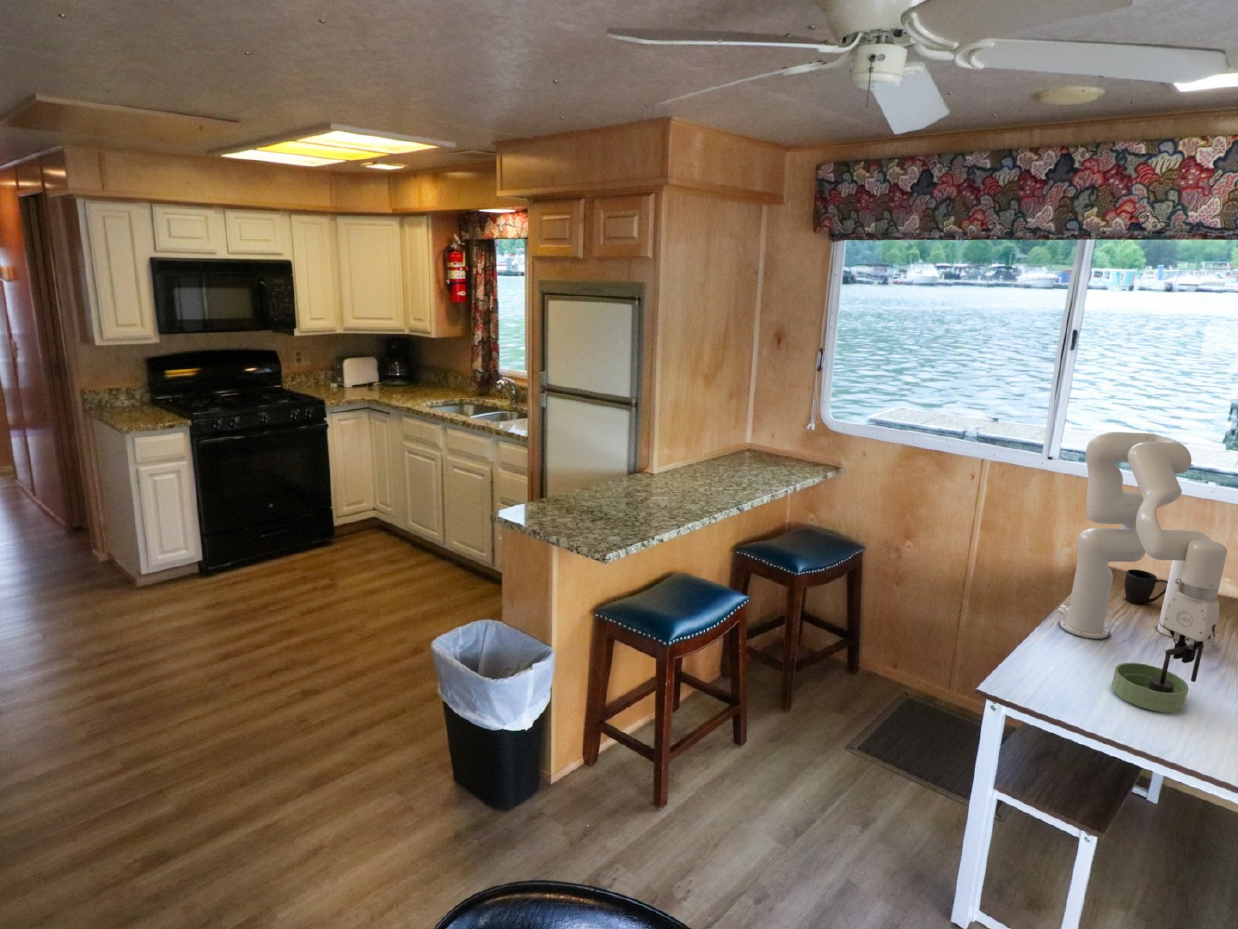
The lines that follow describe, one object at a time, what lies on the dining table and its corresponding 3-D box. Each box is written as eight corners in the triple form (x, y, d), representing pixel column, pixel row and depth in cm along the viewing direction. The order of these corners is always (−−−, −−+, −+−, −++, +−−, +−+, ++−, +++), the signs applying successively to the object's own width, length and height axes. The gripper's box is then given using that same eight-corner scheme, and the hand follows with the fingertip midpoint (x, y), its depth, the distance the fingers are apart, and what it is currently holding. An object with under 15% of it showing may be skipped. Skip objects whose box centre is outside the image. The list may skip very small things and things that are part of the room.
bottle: (1160, 623, 238) (1180, 537, 231) (1192, 633, 233) (1213, 544, 226) (1154, 631, 233) (1174, 543, 226) (1186, 641, 227) (1208, 551, 220)
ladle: (1184, 676, 199) (1193, 638, 197) (1205, 686, 195) (1214, 647, 192) (1143, 686, 194) (1152, 646, 191) (1163, 696, 189) (1172, 656, 187)
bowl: (1097, 687, 200) (1101, 668, 199) (1138, 677, 206) (1142, 659, 204) (1156, 719, 186) (1160, 698, 185) (1198, 708, 192) (1202, 688, 191)
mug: (1164, 612, 247) (1170, 584, 244) (1119, 601, 254) (1125, 574, 251) (1165, 603, 253) (1171, 576, 251) (1122, 593, 260) (1127, 567, 258)
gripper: (1155, 580, 194) (1141, 648, 199) (1222, 605, 180) (1205, 677, 185) (1176, 577, 197) (1161, 644, 201) (1243, 601, 183) (1226, 672, 187)
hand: (1182, 659), depth 193 cm, fingers closed on ladle, 1 cm apart
